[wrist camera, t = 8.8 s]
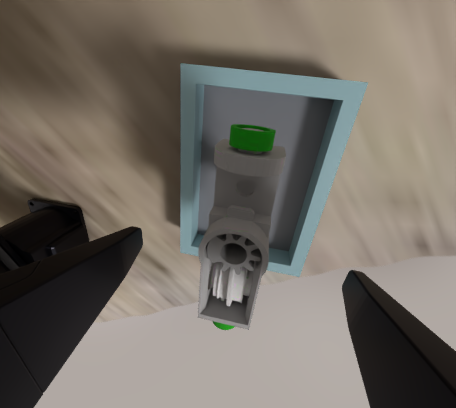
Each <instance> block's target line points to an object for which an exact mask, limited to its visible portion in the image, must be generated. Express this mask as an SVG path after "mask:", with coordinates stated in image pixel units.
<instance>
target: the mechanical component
mask: <svg viewBox="0 0 456 408" xmlns="http://www.w3.org/2000/svg"><path fill="white" fill-rule="evenodd" d="M275 133H276V130H274V129H271V128H267V127H262V126H255V125H245V124H233V125H231V129H230V139H222V140H221V141H219V142H218V143H217V144H216V145H215V152H214V164H215V165H216V166H217V168H216V181H215V193H214V205H213V208H212V210H211V211H210V213H209V225H208V229H207V231H206V233H205V235H204V237H203V239H202V241H201V243H200V246H199V250H198V256H199V260H200V263H201V272H200V289H199V308H198V318H202V319H206V320H210V321H213V323H214V325H215V326H216V327H218V328H220V329H222V330H229V329H232V328H234V327H239V328H243V329H248V330H249V327H250V323H251V319H252V315H253V310H254V306H255V302H256V298H257V294H258V289H259V285H260V281H261V277H262V276H263V274H264V273H265V272H266V270H267V268H268V263H269V231H270V227H271V214H272V209H273V205H274V200H275V196H276V191H277V187H278V183H279V178H280V174H281V173H282V172H283V167H284V163H285V159H286V152H285V148H284V147H281V146H274V145H273V143H274V138H275ZM211 264H212V265H211ZM210 268H211V270H210ZM209 273H210V274H209Z"/></svg>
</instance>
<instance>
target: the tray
mask: <svg viewBox="0 0 456 408" xmlns="http://www.w3.org/2000/svg"><path fill="white" fill-rule="evenodd" d="M367 85H368V83H367V82H358V81H348V80H338V79H329V78H319V77H309V76H300V75H290V74H281V73H271V72H261V71H252V70H242V69H232V68H223V67H213V66H203V65H194V64H184V63H181V199H180V253H185V254H190V255H195V256H198V250H199V246H200V243H201V241H202V239H203V237H204V235H205V233H206V231H207V229H208V225H209V213H210V211H211V210H212V208H213V205H214V193H215V181H216V168H217V166H216V165H215V164H214V152H215V145H216V144H217V143H218V142H219V141H221V140H222V139H230V129H231V125H233V124H245V125H255V126H262V127H267V128H271V129H274V130H276V133H275V138H274V143H273V145H274V146H281V147H284V148H285V152H286V159H285V163H284V167H283V172H282V173H281V174H280V178H279V183H278V187H277V191H276V196H275V200H274V205H273V209H272V214H271V227H270V231H269V263H268V268H267V270H268V271H273V272H278V273H283V274H288V275H293V276H297V277H299V276H300V274H301V271H302V268H303V265H304V262H305V260H306V257H307V254H308V251H309V248H310V245H311V243H312V240H313V237H314V234H315V231H316V228H317V226H318V223H319V220H320V217H321V214H322V212H323V209H324V206H325V203H326V200H327V197H328V195H329V192H330V189H331V186H332V183H333V181H334V178H335V175H336V172H337V169H338V166H339V164H340V161H341V158H342V155H343V152H344V150H345V147H346V144H347V141H348V138H349V135H350V133H351V130H352V127H353V124H354V121H355V118H356V116H357V113H358V110H359V107H360V104H361V102H362V99H363V96H364V93H365V90H366V87H367Z"/></svg>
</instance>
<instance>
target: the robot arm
mask: <svg viewBox="0 0 456 408" xmlns="http://www.w3.org/2000/svg"><path fill="white" fill-rule="evenodd" d="M28 205H29V208H30V211H31V213H30V214H28V215H26V216H23V217H21V218H19V219H17V220H15V221H13V222H11V223H9V224H7V225H5V226H3V227H0V408H34V406H35V405H36V403H37V402H38V401H39V399H40V398H41V396H42V395H43V392H45V390H46V389H47V388H48V386H49V385H50V383H51V382H52V380H53V379H54V377H55V376H56V375H57V373H58V372H59V370H60V369H61V368H62V366H63V365H64V363H65V362H66V361H67V359H68V358H69V356H70V355H71V353H72V352H73V351H74V349H75V347H76V346H77V345H78V343H79V342H80V341H81V339H82V338H83V336H84V335H85V334H86V332H87V331H88V329H89V328H90V326H91V325H92V324H93V322H94V321H95V319H96V318H97V317H98V315H99V314H100V312H101V311H102V309H103V308H104V307H105V305H106V304H107V302H108V301H109V299H110V298H111V297H112V295H113V294H114V292H115V291H116V290H117V288H118V287H119V285H120V284H121V282H122V281H123V279H124V278H125V276H126V275H127V273H128V271H129V270H130V268H131V266H132V264H133V262H134V261H135V259H136V257H137V255H138V254H139V252H140V250H141V248H142V245H143V239H142V230H141V228H138V227H133V226H131V227H128V228H126V229H123V230H120V231H118V232H115V233H112V234H109V235H107V236H104V237H101V238H99V239H96V240H93V241H90V242H89V238H88V234H87V230H86V226H85V221H84V217H83V213H82V210H81V209H80V208H79V207H75V206H70V205H65V204H59V203H54V202H49V201H44V200H38V199H30V200H28ZM342 292H343V297H344V304H345V310H346V316H347V322H348V328H349V332H350V335H351V339H352V343H353V346H354V350H355V354H356V357H357V361H358V364H359V368H360V372H361V375H362V379H363V382H364V386H365V390H366V394H367V397H368V401H369V405H370V408H456V351H455V350H454V349H452V348H451V347H450V346H449V345H448V344H446V343H445V342H444V341H443V340H442V339H441V338H439V337H438V336H437V335H436V334H435V333H433V332H432V331H431V330H430V329H429V328H427V327H426V326H425V325H424V324H423V323H422V322H421V321H419V320H418V319H417V318H416V317H415V316H413V315H412V314H411V313H410V312H409V311H407V310H406V309H405V308H404V307H403V306H402V305H400V304H399V303H398V302H397V301H396V300H394V299H393V298H392V297H391V296H390V295H389V294H387V293H386V292H385V291H384V290H383V289H381V288H380V287H379V286H378V285H377V284H376V283H374V282H373V281H372V280H371V279H370V278H369V277H367V276H366V275H365V274H364V273H362V272H360V271H355V270H351V271H349V273H348V275H347V277H346V279H345V281H344V283H343V285H342Z"/></svg>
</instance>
